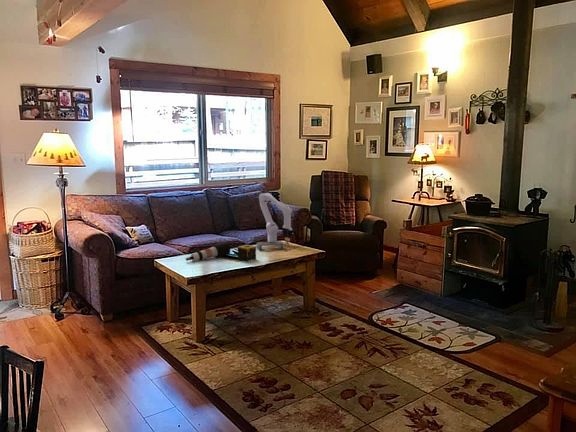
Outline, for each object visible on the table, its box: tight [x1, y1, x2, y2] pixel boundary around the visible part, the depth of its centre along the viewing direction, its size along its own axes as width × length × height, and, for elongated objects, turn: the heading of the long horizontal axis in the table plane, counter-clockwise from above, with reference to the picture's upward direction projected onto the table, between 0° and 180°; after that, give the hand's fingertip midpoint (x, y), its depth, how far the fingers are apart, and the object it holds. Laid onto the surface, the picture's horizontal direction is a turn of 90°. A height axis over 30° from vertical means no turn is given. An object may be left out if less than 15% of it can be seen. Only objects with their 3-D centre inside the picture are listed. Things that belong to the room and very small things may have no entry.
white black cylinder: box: [185, 241, 231, 262], centre depth 357 cm, size 10×34×10 cm, turn 128°
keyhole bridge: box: [256, 240, 284, 252], centre depth 390 cm, size 10×20×5 cm, turn 106°
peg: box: [284, 236, 291, 247], centre depth 402 cm, size 4×4×7 cm
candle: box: [237, 244, 257, 262], centre depth 354 cm, size 10×10×10 cm
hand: (287, 237), depth 401 cm, fingers open, 7 cm apart
